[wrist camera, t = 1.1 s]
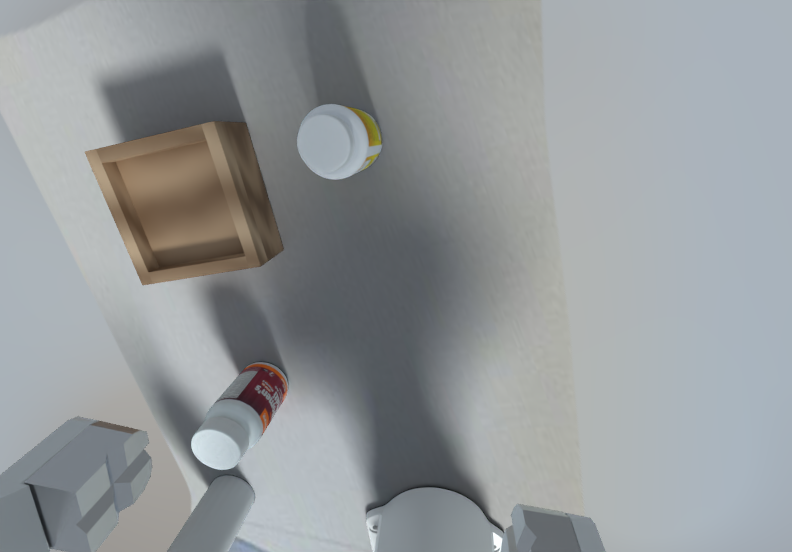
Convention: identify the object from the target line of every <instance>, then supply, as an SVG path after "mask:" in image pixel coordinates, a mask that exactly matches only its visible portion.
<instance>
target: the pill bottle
mask: <svg viewBox="0 0 792 552" xmlns="http://www.w3.org/2000/svg"><path fill="white" fill-rule="evenodd" d="M287 393H288V381H287V378H286V376H285V375H284V373H283V372H282V371H281V370H280V369H279V368H278V367H276V366H274V365H272V364H269V363H265V362H256V363H252V364H250V365H248V366H247V367H246V368H245V369H244V370H243V371H242V372H241V373H240V374H239V375H238V377H237V378H236V379H235V380H234V381H233V383H232V384H231V385H230V386H229V387H228V388H227V389H226V391H225V392H224V393H223V394H222V395H221V396H220V398H219V399H218V400H217V401H216V402H215V403H214V404H213V406H212V407H211V408H210V409H209V411H208V412H207V415H206V418H205V422H204V423H203V424H202V425H201V426H200V428H199V429H198V430H197V431H196V433H195V434H194V435H193V437H192V440H191V447H192V451H193V453H194V455H195V456H196V457H197V458H198V459H199V460H200V461H201V462H202V463H203V464H205V465H207V466H209V467H211V468H214V469H219V470H227V469H231V468H233V467H234V466H236V465H237V464H238V463H239V461H240V460H241V458H242V457H243V455H244V454H245V452H246V451H247V449H249V448H251V447H253V446H254V445H255V444H256V443H257V442H258V441H259V439H260V438H261V436H262V435H263V433H264V431H265V430H266V428H267V426H268V425H269V423H270V422H271V420H272V418H273V417H274V415H275V413H276V412H277V410H278V409H279V407H280V405H281V404H282V402H283V400H284V399H285V397H286V395H287Z"/></svg>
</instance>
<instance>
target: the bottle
mask: <svg viewBox="0 0 792 552" xmlns="http://www.w3.org/2000/svg"><path fill="white" fill-rule="evenodd" d="M254 500H255V493H254V491H253V489H252V488H251V486H250V485H249V484H248V483H247V482H246V481H244V480H243V479H240V478H239V477H236V476H232V475H222V476H219V477H217V478H216V479H215V480H214V481H213V482H212V484H211V485H210V487H209V488H208V490H207V491H206V493H205V494H204V496H203V497H202V499H201V500H200V502H199V503H198V505H197V506H196V508H195V509H194V511H193V512H192V514H191V515H190V517H189V518H188V520H187V522H186V523H185V525H184V526H183V528H182V529H181V531H180V532H179V534H178V536H177V537H176V538H175V540H174V541H173V543H172V544H171V546H170V547H169V549H168V550H167V552H228V551H229V549H230V547H231V545H232V543H233V541H234V539H235V537H236V536H237V534H238V532H239V530H240V528H241V526H242V524H243V522H244V520H245V518H246V516H247V514H248V512H249V510H250V508H251V506H252V505H253V503H254Z"/></svg>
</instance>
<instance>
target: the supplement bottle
mask: <svg viewBox="0 0 792 552" xmlns="http://www.w3.org/2000/svg"><path fill="white" fill-rule="evenodd" d="M297 147H298V151H299V154H300V156H301V158H302V159H303V161H304V162H305V163H306V165H307V166H308V167H309V168H310V169H311V170H312V171H313V172H314V173H316V174H317V175H319V176H321V177H323V178H327V179H333V180H338V179H344V178H347V177H349V176H352V175H353V174H356V173H358V172H360V171H362V170H364V169H366V168H368V167H369V166H371V165H372V164H373V163H374V162H375V161H376V160H377V158H378V156H379V154H380V152H381V149H382V134H381V130H380V128H379V125H378V124H377V122H376V121H375V119H374V118H373V117H372V116H371V115H369V114H368V113H366V112H364V111H362V110H359V109H355V108H351V107H346V106H342V105H337V104H325V105H321V106H319V107H316V108H315V109H313V110H312V111H310V112H309V113H308V114H307V115H306V117H305V118H304V119H303V121H302V123H301V125H300V128H299V131H298V135H297Z"/></svg>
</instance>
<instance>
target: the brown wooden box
mask: <svg viewBox="0 0 792 552" xmlns="http://www.w3.org/2000/svg"><path fill="white" fill-rule="evenodd" d="M85 154H86V156H87V159H88V161H89V163H90V165H91V168H92V170H93V172H94V175H95V177H96V179H97V182H98V184H99V186H100V188H101V191H102V193H103V195H104V198H105V200H106V202H107V205H108V207H109V209H110V211H111V214H112V216H113V218H114V221H115V223H116V225H117V228H118V230H119V232H120V234H121V237H122V239H123V241H124V244H125V246H126V248H127V251H128V253H129V255H130V257H131V260H132V262H133V264H134V267H135V269H136V271H137V274H138V276H139V278H140V280H141V283H142V285H148V284H154V283H160V282H166V281H173V280H179V279H185V278H192V277H198V276H204V275H210V274H217V273H223V272H229V271H235V270H242V269H248V268H254V267H260V266H262V265H263V264H265V263H266V262H268V261H269V260H270V259H272V258H273V257H275V256H276V255H277V254H279V253H280V252H281V251H283V250H284V248H283V245H282V242H281V238H280V235H279V232H278V228H277V225H276V222H275V218H274V215H273V212H272V208H271V205H270V202H269V198H268V195H267V192H266V188H265V185H264V182H263V178H262V175H261V172H260V168H259V165H258V162H257V158H256V155H255V152H254V148H253V145H252V142H251V138H250V135H249V132H248V128H247V125H246V123H243V122H222V121H212V122H208V123H204V124H199V125H195V126H191V127H187V128H183V129H178V130H174V131H170V132H166V133H162V134H157V135H153V136H149V137H145V138H141V139H136V140H132V141H128V142H124V143H120V144H115V145H111V146H107V147H103V148H99V149H94V150H90V151H86V152H85Z"/></svg>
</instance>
